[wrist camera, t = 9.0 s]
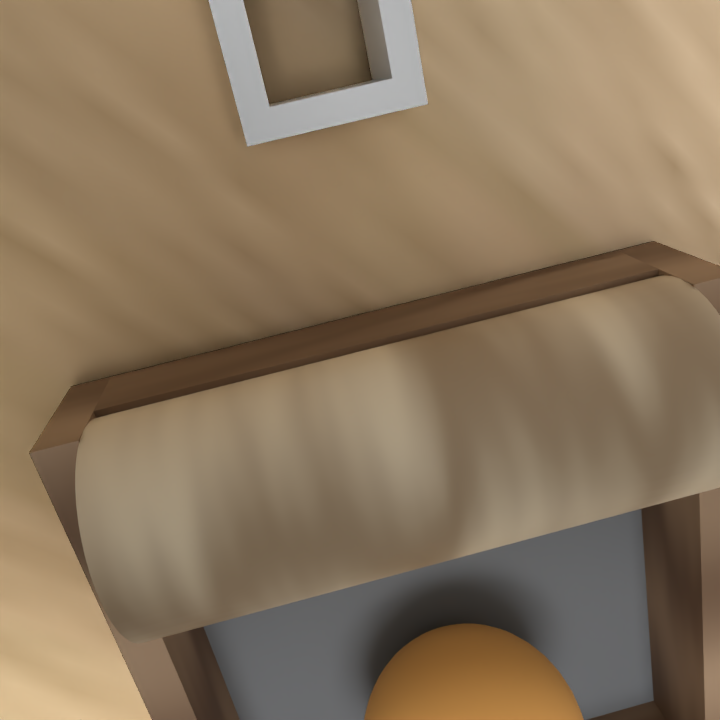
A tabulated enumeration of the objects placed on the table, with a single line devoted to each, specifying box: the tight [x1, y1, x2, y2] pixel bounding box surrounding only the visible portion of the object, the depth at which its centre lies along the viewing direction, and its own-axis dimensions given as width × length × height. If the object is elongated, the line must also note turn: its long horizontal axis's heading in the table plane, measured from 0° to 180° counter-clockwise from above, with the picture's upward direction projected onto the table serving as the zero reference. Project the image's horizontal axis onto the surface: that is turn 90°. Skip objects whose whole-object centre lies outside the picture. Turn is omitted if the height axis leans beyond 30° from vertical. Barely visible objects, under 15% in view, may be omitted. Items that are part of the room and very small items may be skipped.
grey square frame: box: [208, 0, 428, 147], centre depth 14 cm, size 4×4×2 cm
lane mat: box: [203, 509, 654, 720], centre depth 20 cm, size 17×15×1 cm
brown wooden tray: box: [29, 241, 720, 720], centre depth 18 cm, size 17×15×6 cm
